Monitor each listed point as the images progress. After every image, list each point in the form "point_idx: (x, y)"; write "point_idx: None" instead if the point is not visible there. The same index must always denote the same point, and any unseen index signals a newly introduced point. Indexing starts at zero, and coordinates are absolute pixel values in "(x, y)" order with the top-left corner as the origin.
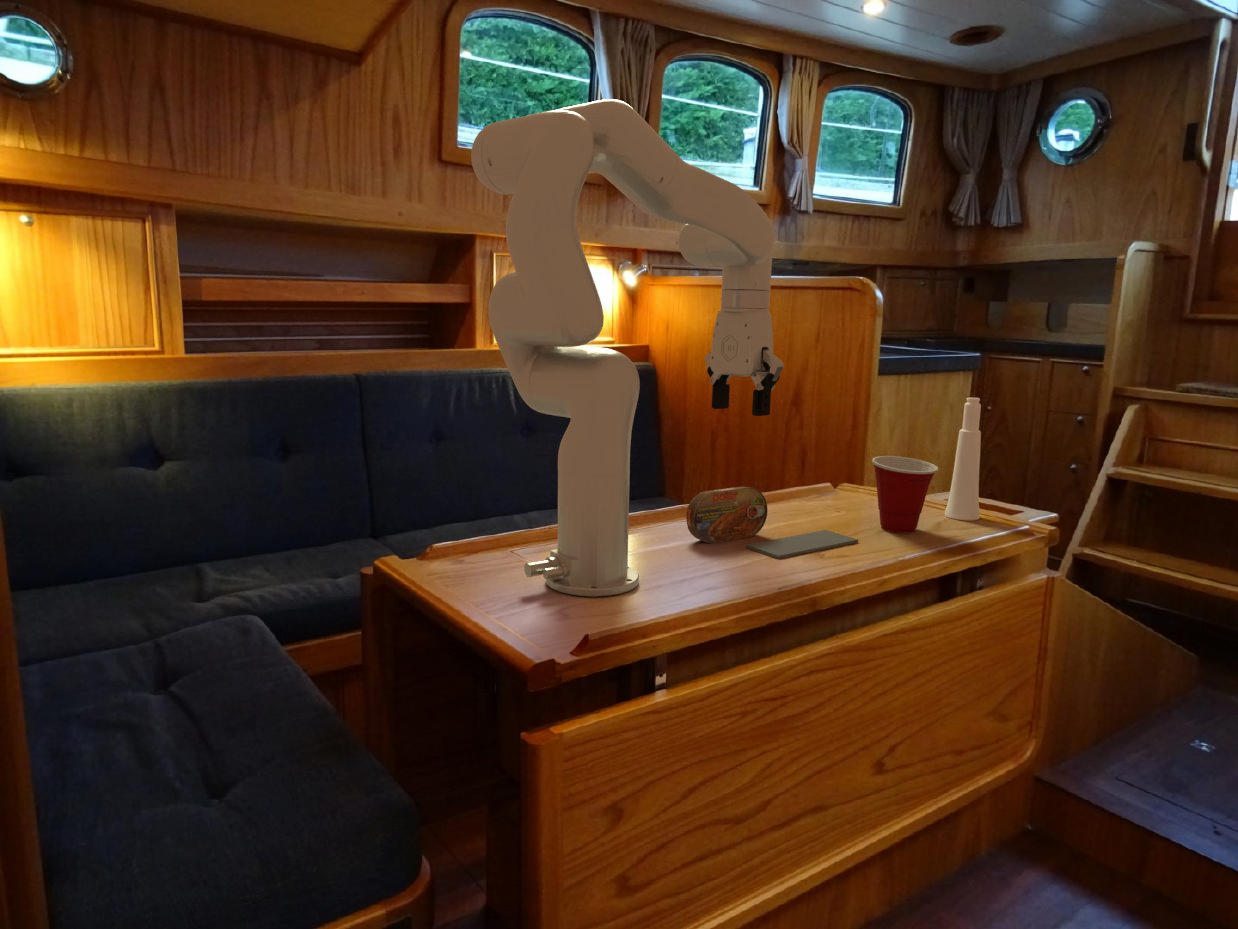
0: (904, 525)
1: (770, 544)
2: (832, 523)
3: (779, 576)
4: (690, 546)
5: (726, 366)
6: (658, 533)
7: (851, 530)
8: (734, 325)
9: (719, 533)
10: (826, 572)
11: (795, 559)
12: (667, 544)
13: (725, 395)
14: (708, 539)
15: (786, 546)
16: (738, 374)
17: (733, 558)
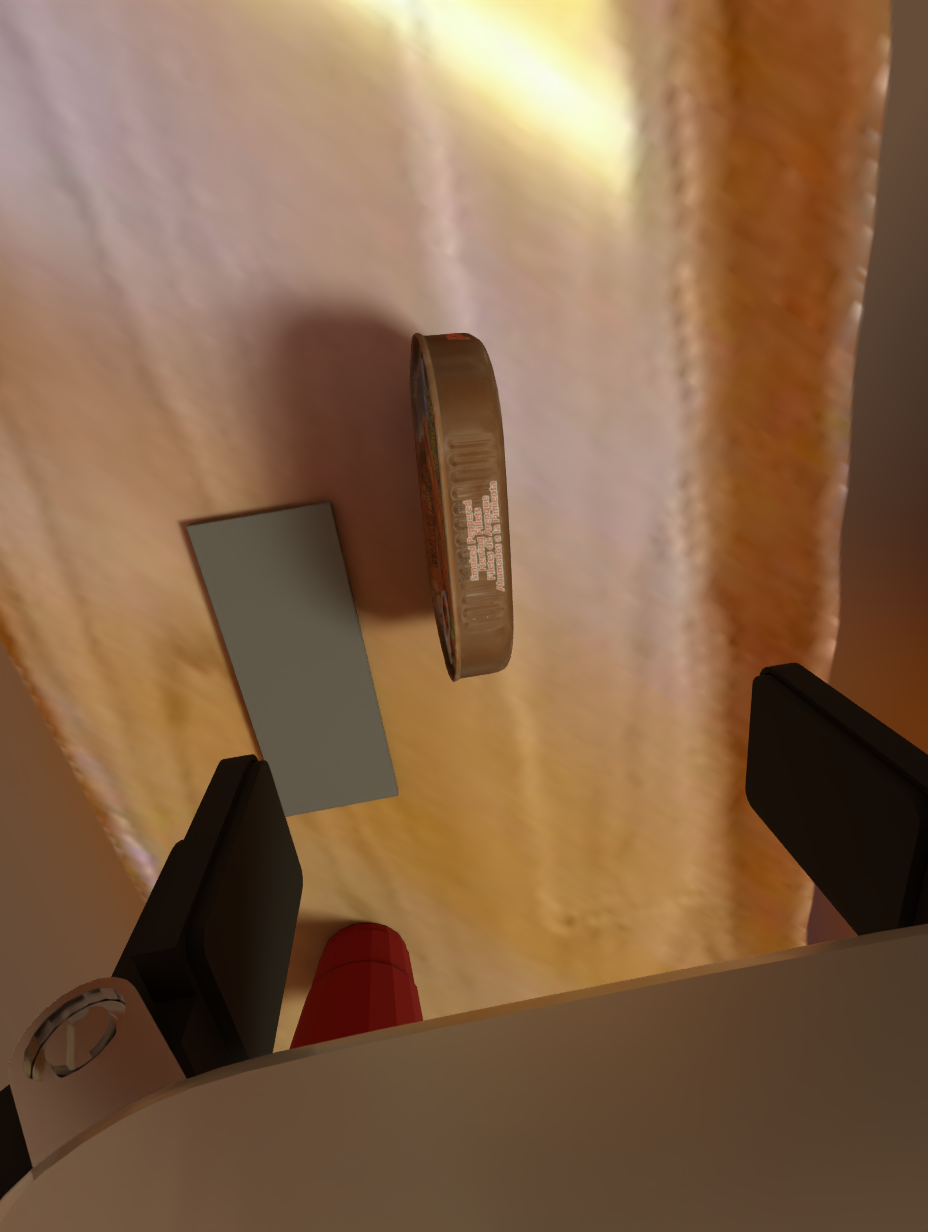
0: (320, 961)
1: (308, 574)
2: (474, 853)
3: (11, 421)
4: (408, 329)
5: (791, 1126)
6: (596, 308)
7: (396, 857)
8: None
9: (427, 462)
10: (30, 579)
11: (176, 571)
12: (459, 259)
13: (816, 841)
14: (421, 413)
15: (275, 606)
16: (345, 1046)
17: (233, 393)
